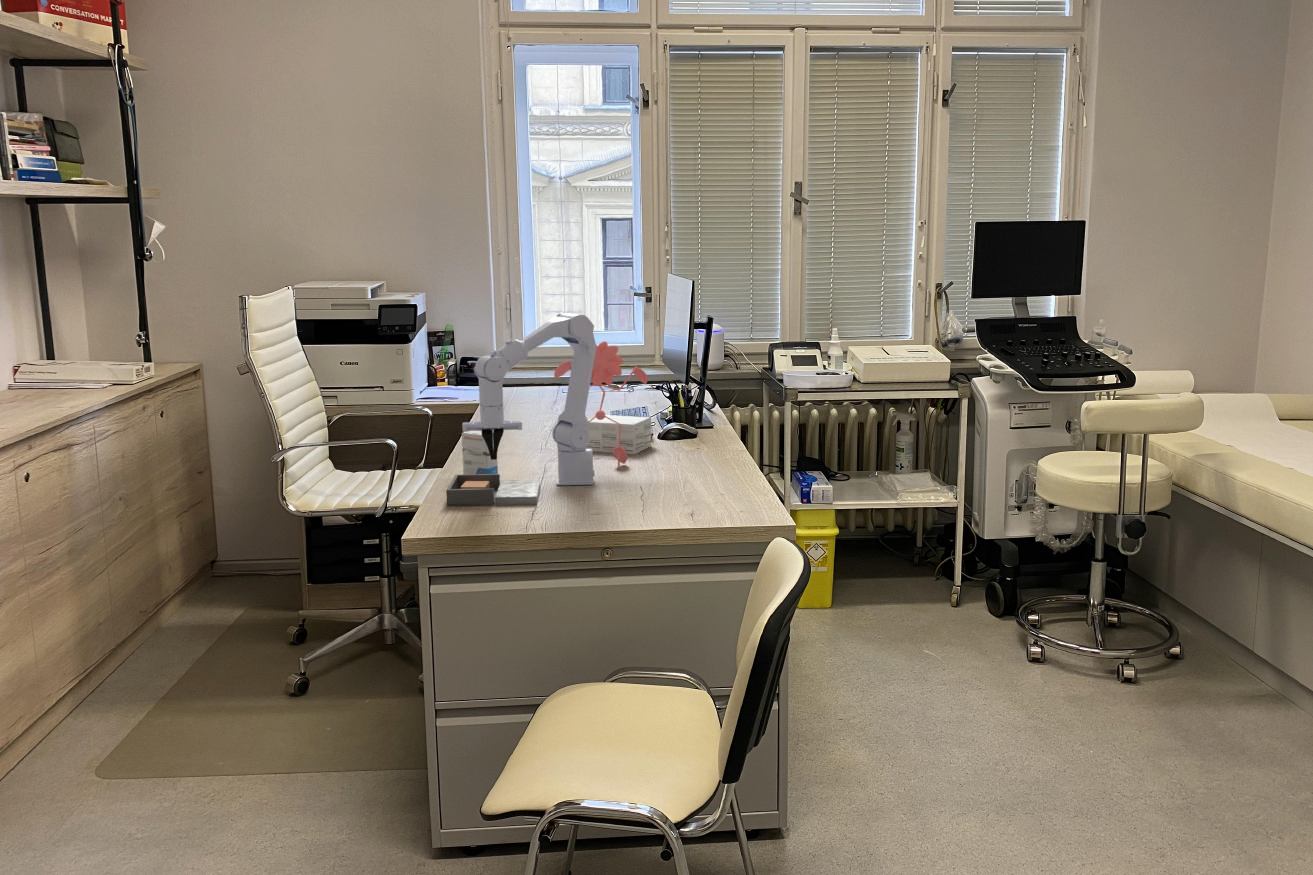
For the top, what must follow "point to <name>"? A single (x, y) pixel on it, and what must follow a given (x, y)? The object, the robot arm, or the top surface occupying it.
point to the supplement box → (631, 436)
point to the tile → (476, 485)
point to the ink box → (477, 455)
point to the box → (472, 490)
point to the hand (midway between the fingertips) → (493, 458)
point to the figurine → (604, 371)
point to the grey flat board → (518, 493)
